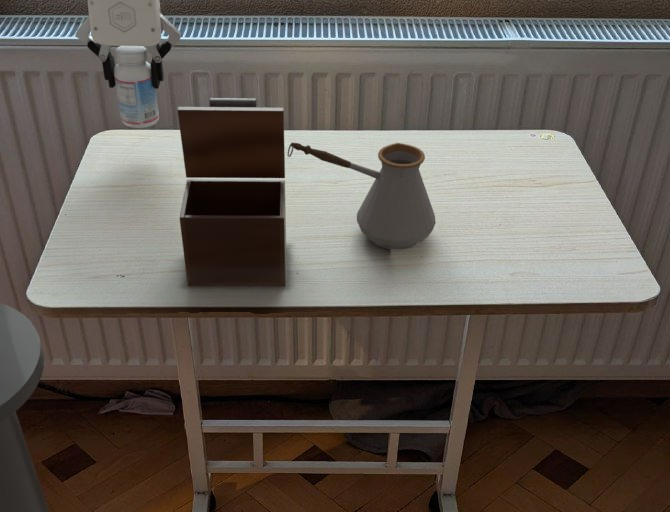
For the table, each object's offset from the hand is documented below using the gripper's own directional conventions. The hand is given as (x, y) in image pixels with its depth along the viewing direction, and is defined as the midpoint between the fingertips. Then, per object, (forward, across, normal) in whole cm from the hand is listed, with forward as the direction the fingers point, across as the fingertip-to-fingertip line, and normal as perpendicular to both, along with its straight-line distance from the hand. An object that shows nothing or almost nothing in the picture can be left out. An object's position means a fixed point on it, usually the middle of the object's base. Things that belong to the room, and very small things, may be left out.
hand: (135, 83), depth 129 cm
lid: (-3, +17, -27) cm, 32 cm away
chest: (+13, +17, -31) cm, 38 cm away
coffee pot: (+13, +35, -23) cm, 44 cm away
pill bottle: (+6, 0, 0) cm, 6 cm away
